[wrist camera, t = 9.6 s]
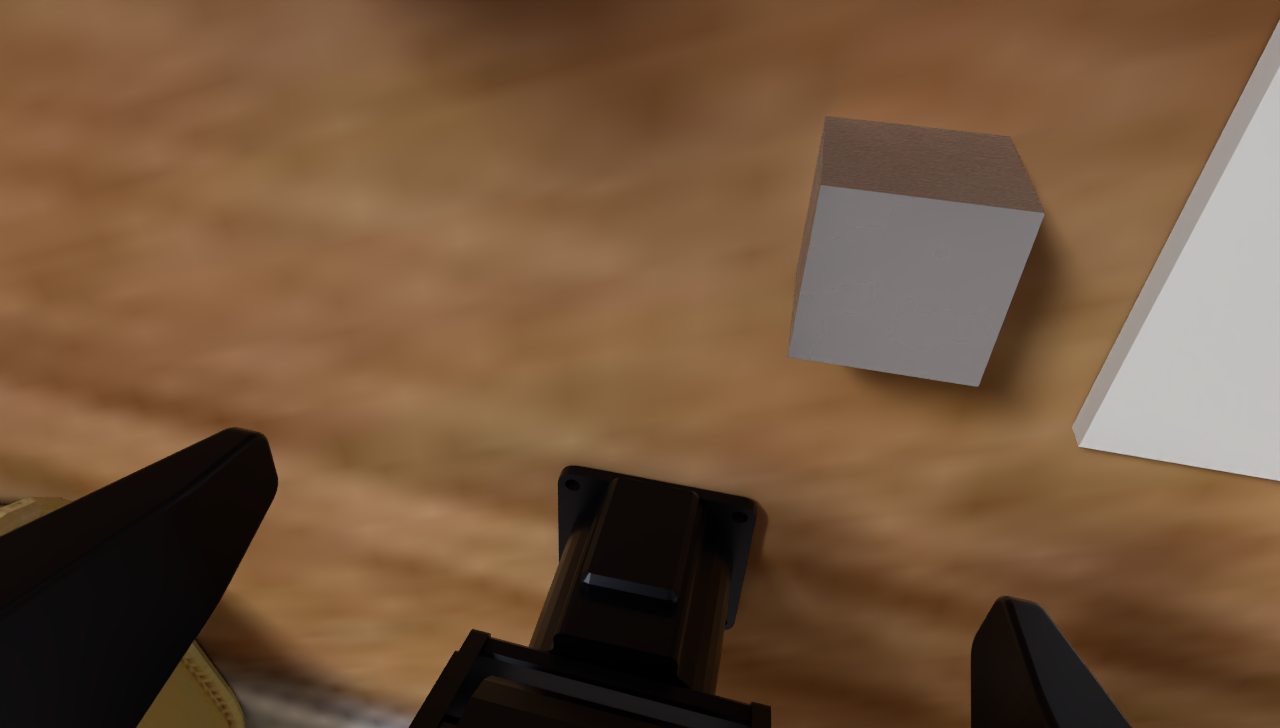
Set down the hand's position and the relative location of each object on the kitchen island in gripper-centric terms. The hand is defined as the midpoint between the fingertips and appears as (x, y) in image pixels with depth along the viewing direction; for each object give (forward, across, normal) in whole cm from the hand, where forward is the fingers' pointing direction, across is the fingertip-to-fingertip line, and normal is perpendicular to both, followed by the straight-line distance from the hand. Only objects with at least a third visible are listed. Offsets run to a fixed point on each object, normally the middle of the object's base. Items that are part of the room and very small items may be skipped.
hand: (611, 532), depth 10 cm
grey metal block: (+12, -4, 0) cm, 13 cm away
